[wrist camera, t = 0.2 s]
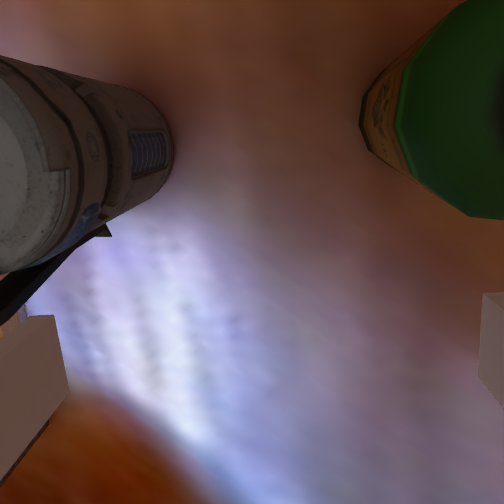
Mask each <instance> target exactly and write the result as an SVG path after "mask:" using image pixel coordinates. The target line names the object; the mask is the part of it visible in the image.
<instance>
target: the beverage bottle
mask: <svg viewBox="0 0 504 504" xmlns="http://www.w3.org/2000/svg"><path fill="white" fill-rule="evenodd" d="M173 150H174V148H173V141H172V135H171V132H170V129H169V127H168V124H167V122H166V120H165V119H164V117H163V115H162V113H161V112H160V111H159V110H158V109H157V107H156V106H155V105H154V104H153V103H152V102H151V101H149V100H148V99H147V98H146V97H145V96H143V95H141V94H139V93H137V92H136V91H134V90H131V89H128V88H125V87H121V86H117V85H112V84H108V83H105V82H101V81H97V80H93V79H89V78H85V77H81V76H77V75H74V74H70V73H66V72H63V71H59V70H56V69H52V68H48V67H44V66H38V65H33V64H29V63H26V62H23V61H20V60H16V59H12V58H9V57H5V56H1V55H0V275H3V274H6V273H9V272H10V273H9V274H7V275H6V276H5V277H4V278H3V279H2V280H0V326H2V325H3V324H4V323H6V322H7V321H8V320H9V319H10V318H11V317H12V316H13V315H14V314H15V313H16V312H17V311H18V310H19V309H20V308H21V307H22V306H23V305H24V303H25V302H26V301H27V300H28V299H29V298H30V297H31V296H32V295H33V294H34V293H35V292H36V291H37V290H38V288H39V287H40V286H41V285H42V284H43V283H44V282H45V281H46V280H47V279H48V278H49V277H50V276H51V275H52V273H53V272H54V271H55V270H56V269H57V268H58V267H59V266H60V265H61V264H62V263H63V262H64V261H65V260H66V259H67V257H68V256H69V255H70V254H71V253H72V252H73V251H74V250H75V249H76V248H78V247H79V246H81V245H82V244H84V243H86V242H87V241H89V240H90V239H92V238H93V237H112V235H111V233H110V231H109V229H108V227H107V225H106V222H108V221H110V220H112V219H114V218H115V217H117V216H119V215H121V214H123V213H124V212H126V211H128V210H130V209H132V208H133V207H135V206H137V205H139V204H141V203H142V202H144V201H146V200H148V199H150V198H151V197H152V196H153V195H154V194H156V193H157V192H158V191H159V190H160V188H161V187H162V186H163V184H164V183H165V182H166V180H167V177H168V175H169V173H170V171H171V167H172V162H173Z"/></svg>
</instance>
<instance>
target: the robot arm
mask: <svg viewBox="0 0 504 504" xmlns="http://www.w3.org/2000/svg"><path fill="white" fill-rule="evenodd" d="M478 377H479V378H480V379H481V381H482V382H483V383H484V385H485V386H486V387H487V388H488V390H489V391H490V392H491V393H492V395H493V396H494V397H495V398H496V400H497V401H498V402H499V403H500V405H501V406H502V407H503V408H504V292H495V293H483V302H482V318H481V335H480V351H479V368H478ZM69 392H70V391H69V386H68V381H67V376H66V371H65V367H64V362H63V357H62V352H61V347H60V342H59V337H58V332H57V327H56V322H55V318H54V315H39V316H30V317H29V318H27V319H26V320H25V321H23V322H22V323H21V324H20V325H18V326H17V327H16V328H14V329H13V330H12V331H10V332H9V333H8V334H7V335H5V336H4V337H3V338H1V339H0V481H1V479H2V478H3V477H4V475H5V474H6V473H7V472H8V470H9V469H10V468H11V466H12V465H13V464H14V463H15V461H16V460H17V459H18V457H19V456H20V455H21V454H22V452H23V451H24V450H25V448H26V447H27V446H28V445H29V443H30V442H31V441H32V439H33V438H34V437H35V436H36V434H37V433H38V432H39V430H40V429H41V428H42V427H43V425H44V424H45V423H46V421H47V420H48V419H49V418H50V416H51V415H52V414H53V412H54V411H55V410H56V409H57V407H58V406H59V405H60V403H61V402H62V401H63V400H64V398H65V397H66V396H67V395H68V393H69Z"/></svg>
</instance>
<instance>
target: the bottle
mask: <svg viewBox="0 0 504 504" xmlns="http://www.w3.org/2000/svg"><path fill="white" fill-rule="evenodd" d="M359 127H360V130H361V132H362V135H363V138H364V140H365V143H366V145H367V148H368V150H369V151H371V152H372V153H373V154H374V155H376V156H377V157H378V158H380V159H381V160H382V161H384V162H385V163H386V164H388V165H389V166H391V167H392V168H394V169H395V170H397V171H398V172H400V173H402V174H403V175H405V176H406V177H408V178H409V179H411V180H413V181H414V182H416V183H417V184H419V185H420V186H422V187H424V188H425V189H427V190H428V191H430V192H431V193H433V194H435V195H436V196H438V197H439V198H441V199H442V200H444V201H446V202H447V203H449V204H450V205H452V206H453V207H455V208H457V209H458V210H460V211H461V212H463V213H464V214H466V215H467V216H469V217H477V218H487V219H497V220H504V0H468V1H465V2H463V3H461V4H459V5H458V6H457V7H456V8H455V9H453V10H452V11H451V12H450V13H449V14H448V15H447V16H445V17H444V18H443V19H442V20H441V21H440V22H439V23H437V24H436V25H435V26H434V27H433V28H432V29H430V30H429V31H428V32H427V33H426V34H425V35H424V36H422V37H421V38H420V39H419V40H418V41H417V42H416V43H414V44H413V45H412V46H411V47H410V48H409V49H408V50H406V51H405V52H404V53H403V54H402V55H401V56H400V57H398V58H397V59H396V60H395V61H394V62H393V63H391V64H390V65H389V66H388V67H387V68H386V69H385V70H383V71H382V72H381V73H380V74H379V76H378V77H377V78H376V80H375V81H374V82H373V84H372V85H371V86H370V88H369V89H368V91H367V92H366V93H365V95H364V96H363V99H362V105H361V112H360V119H359Z"/></svg>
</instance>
